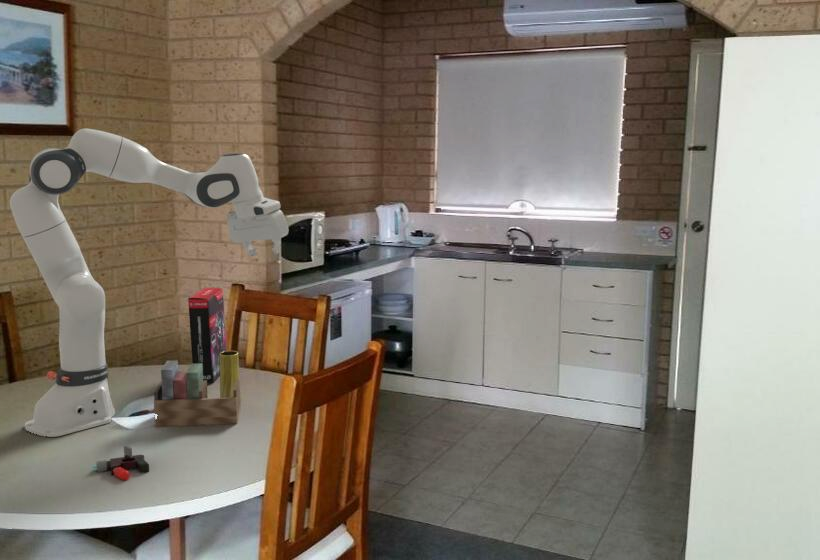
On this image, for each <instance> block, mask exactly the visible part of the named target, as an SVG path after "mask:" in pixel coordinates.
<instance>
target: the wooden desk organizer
mask: <svg viewBox="0 0 820 560" xmlns="http://www.w3.org/2000/svg"><path fill="white" fill-rule="evenodd" d="M178 361H179V360H166V362H165V363H164V365H163V366H162V368H161V370H160V374H161V376H160V377H161V379H160V380H161V381H160V382H159V384H158V385H157V388H156V389H155V391H154V392H153V399H154V400H153V410H154V411H153V413H154V414H157V415H158V416H157V419H156V420H155V419H154V426H155V427H156V428H157V427H158V428H159V427H160V428H161V427H182V426H183V427H184V426H185V427H186V426H187V425H189V426H202V425H201V424H215V425H232V424H231V423H237V424H238V422H239V418H240V415H239V414H241V410H242V409H241V407H242V406H241V403H242V402H241V401H240V391H241V380H240V379H241V378H240V379H237V380H236V383H235V386H234V389H233V397H232V398H220V397H211V398H210V397H209V398H208V383H207V380H204V381H203V365H202V363H198V364H193V363H190V365H189V367H188V369H187V370H185V371H184V370H183V371H179V362H178ZM199 424H200V425H199Z"/></svg>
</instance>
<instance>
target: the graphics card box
mask: <svg viewBox="0 0 820 560" xmlns="http://www.w3.org/2000/svg"><path fill="white" fill-rule="evenodd" d="M223 291H224V290H223V288H222V287H203V288H202V289H200V290H199V291H197V292H196V293H194V294H192V295H191V296H189V297H187V298H188V299H187V302H188V315H189V316H188V317H189V332H190V335H189V336H190V345H191V361H192V363H191V364H198V363H202V365H203V381H204V380H207V384H213V383H215V381H216V380H217V379H218V378H220V353H221V352H224V351H227V342H226V341H227V339H226V321H225V320H226V319H225V305H224V292H223Z"/></svg>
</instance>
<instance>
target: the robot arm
mask: <svg viewBox="0 0 820 560" xmlns="http://www.w3.org/2000/svg"><path fill="white" fill-rule="evenodd" d="M85 173H94V174H98V175H101V176H103V177H107V178H109V179H113V180H117V181H121V182H124V183H130V184H131V183H133V184H142V183H146V184H147V183H148V184H154V185H158V186H161V187H164V188H167V189H170V190H172V191H176V192H177V193H181V194H182V195H184V196H185V197H186V198H188V199H189V200H190V201H191V202H192V203H193V204H195V205H197V206H199V207H201V208H202V207H204V208H212V209H215V208H220V207H222V206H224V205H225V204H227V203H230V202H231V203H232V206H233V210H234V211H233V210H231V211H229V212H228V213H227V215H226V220H227V229H228V233H229V237H230V241H231V242H233V243H234V244H240V243H242V247H244V249H245V250H246V251H247V252H248V255H249V257H255V256H257V255H258V252H257V248H254V247H253V245H251V244H252V242H257V241H265V240H271V242H272V243H273V247H272V248H271V251H272V253H273V254H274V255H277V254H279V253H281V252H282V250H281V247H280V246H281V241H282V238H284V237H286V236H288V235H289V230H290V229H289V224H288V223H287V219H286V217H285V214H284V212H283V211H282V210H281V208H282V207H281V205H282V204H281V203H280V201H279V200H275V199H272V198H271V199H270V198H268V197H265V196H264V193H263V192H262V190H261V188H260V185H259V178H258V175H257V172H256V169H255V166H254V164H253V162H252V160H251V158H250V156H249V155H248V154H246V153H243V152H235V153H234V152H232V153H226V154H223V155H220V156H219V159H218V160H217V162H216V163H215V164H214V165H213V166H212V167H211V168H209V169H208V170H207V171H202V170H201V171H188V170H186V169H185V170H184V169H181V168H180V167H177V166H174V165H171V164H169V163H165V162H163V161H161V160H160V159H158V158H157V157H155V156H154V155H153V154H152V153H151V152H150V150H149V149H147V148H146V147H145V146H143V145H142V144H139V143H137V142H136V141H133V140H132V139H128V138H126V137H124V136H121V135H117V134H115V133H111V132H108V131H107V132H106V131H103V130H98V129H94V128H93V129H91V128H87V127H86V128H81V129H78V130H77V131H76V132H75V133H74V134H73V135H72V137H71V138H70V141H69V143H68V145H67V146H66V147H65V148H59V147H46V148H43V149H41V150H38V152H36V154H35V155H34V156H33V157H32V159H31V161H30V165H29V181H28V182H29V183H28V184H27V185H25V186H23V187H20V188H19V189H17V190H15V192H13V193H12V195H11V196H10V199H9V207H10V210H11V213H12V216H13V219H14V223H15V225H16V226H17V228H18V231H19V234H20V235H21V237H22V239H23V241H24V243H25V245H26V247H27V249H28V251H29V252H30V254H31V256H32V258H33V259H34V262H35V263H36V266H37V267H38V270H39V272H40V274H41V276H42V278H43V280H44V283H45V284H46V286H47V288H48V289H47V290H49V292H50V293H49V294H51V296H52V298H53V301H54V302H55V303H56V305H57V307H58V310H59V313H58V314H59V333H58V346H59V348H58V349H59V360H60V367H59V369H58V373H57V372H56V371H52V370H50V371H47V373H46V378H48V379H49V380H53V381H54V380H55V384H53V385H52V387H51V388H50V389H49V390H47V392H46V393H45V394H44V395H42V396H41V398H40V399H39V400H38V401H36V403H35V405H34V410H33V418H32V419H31V420H28V421H26V422H24V430H26V431H27V432H28V431H29V433H30V432H31V434H33V433H34V434H33V435H36V434H37V435H36V436H41V437H46V436H47V437H48V438H49V437H50V438H56V437H60V436H64V435H67V434H72V433H77V432H79V431H83V430H87V429H91V428H95V427H99V426H102V425H106V424H109V423H111V422H112V421H111V419H112V418H113V417H114V416H115V414H116V410H115V407H114V405H113V403H112V402H113V401H112V399H111V393H110V389H109V383H108V380H109V367H108V363H107V361H106V349H105V323H106V294H105V290H104V288H103V287H102V286H101V284H100V283H99V282H97V281H96V280H95V279H94V278H93V276H92V274H91V272H90V269H89V268H88V265H87V262H86V261H85V258H84V255H83V253H82V250H81V247H80V245H79V243H78V241H77V239H76V237H75V235H74V233H73V231H72V229H71V227H70V225H69V223H68V222H67V219H66V217H65V215H64V213H63V211H62V209H61V207H60V204H59V197H60V195H65V194H67V193H69V192H70V191H72V189H74V188H75V187H76V186H77V184H78V183H79V182H80V180H81V179H82V177H84V175H85ZM233 243H232V244H233ZM111 417H112V418H111Z"/></svg>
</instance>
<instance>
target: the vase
mask: <svg viewBox="0 0 820 560" xmlns="http://www.w3.org/2000/svg"><path fill="white" fill-rule="evenodd" d="M239 358H240V357H239V352H238V351H237V350H226V351H224V352H221V353H220V375H219V398H232V397H233V389H234V386H235V383H236V380H237V379H241V376H240V365H239V364H240V359H239ZM241 401H242V393H241V390H240V402H241Z"/></svg>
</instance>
